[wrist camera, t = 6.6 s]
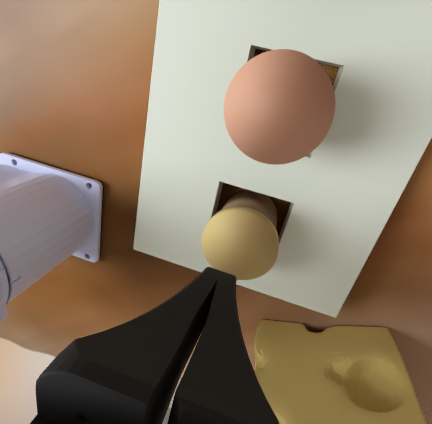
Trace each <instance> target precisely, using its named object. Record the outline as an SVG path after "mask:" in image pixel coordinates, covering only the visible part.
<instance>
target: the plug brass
mask: <svg viewBox="0 0 432 424" xmlns="http://www.w3.org/2000/svg"><path fill="white" fill-rule="evenodd" d="M277 219H278V213H277V208H276V206H275V204H274V202H273V201H272V200H271V199H270V198H269V197H268V196H267V195H264V194H261V193H258V192H254V191H251V190H247V189H246V190H241V191H238V192H236V193H234V194H233V195H232V196H230V197H229V199H228V200H227V201H226V203H225V205H224V206H223V208H222V210H220V211H219V212H217V213H216V214H215V215H214V216H213V217H212V218H211V219H210V220H209V222H208V223H207V225H206V227H205V228H204V230H203V233H202V237H201V247H202V251H203V254H204V256H205V258H206V260H207V262H208V263H209V264H210V265H211V266H212V267H213V268H214V269H217V270H220V271H223V272H226V273H229V274H232V275H235V276H236V278H237V280H251V279H255V278H258V277H260V276H262V275H264V274H266V273H267V272H268V271H269V270H270V269H271V268H272V267H273V265H274V264H275V262H276V259H277V256H278V248H279V238H278V234H277V231H276V226H277Z"/></svg>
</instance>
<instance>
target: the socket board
mask: <svg viewBox="0 0 432 424" xmlns="http://www.w3.org/2000/svg"><path fill="white" fill-rule="evenodd" d="M255 49H260V50H264V51H271V50H277V49H290V50H295V51H299V52H302V53H304V54H306V55H308V56H310V57H312V58H313V59H314V60H316V61H317V62H318V63H321V64H326V65H330V66H335V67H339V70H338V73H337V75H336V78H335V81H334V84H333V88H334V93H335V113H334V118H333V122H332V125H331V127H330V129H329V132H328V133H327V135H326V137H325V138H324V140H323V141H322V142H321V143H320V145H319V146H318V147H317V148H316V149H315V150H313V151H312V152H311V153H310V154H308V155H307V156H305V157H303V158H301V159H299V160H297V161H294V162H291V163H287V164H279V165H273V164H266V163H261V162H258V161H256V160H254V159H252V158H250V157H248V156H247V155H245V154H244V153H243V152H242V151H240V150H239V149H238V147H237V146H236V145H235V144H234V142H233V141H232V139H231V137H230V135H229V133H228V131H227V128H226V125H225V120H224V101H225V96H226V93H227V89H228V87H229V85H230V83H231V81H232V79H233V77H234V76H235V74H236V73H237V72H238V70H239V69H240V68H241V67H242V66H243V65H244V64H245V63H247V62H248V61H249V60H250V59H252V58H254V54H255ZM431 138H432V0H160V1H159V11H158V20H157V30H156V39H155V49H154V58H153V67H152V77H151V86H150V96H149V105H148V115H147V124H146V133H145V143H144V152H143V162H142V171H141V180H140V190H139V199H138V209H137V218H136V228H135V237H134V246H133V249H134V250H137V251H140V252H143V253H145V254H148V255H151V256H154V257H157V258H160V259H163V260H166V261H169V262H172V263H175V264H178V265H181V266H184V267H187V268H190V269H193V270H196V271H199V272H202V271H203V270H204V269H205V268H206V267H211V268H213V267H212V266H211V265H210V264H209V263H208V262H207V260H206V258H205V256H204V254H203V251H202V247H201V237H202V233H203V230H204V228H205V227H206V225H207V223H208V222H209V220H210V219H211V218H212V217H213V216H214V215H215V214H216V213H217V208H218V204H219V200H220V196H221V192H222V188H223V183H227V184H230V185H234V186H237V187H240V188H244V189H247V190H251V191H254V192H258V193H261V194H264V195H268V196H271V197H275V198H278V199H281V200H285V201H288V202H291V204H290V207H289V210H288V213H287V215H286V218H285V221H284V224H283V227H282V229H281V232H280V235H279V248H278V256H277V259H276V262H275V264H274V265H273V267H272V268H271V269H270V270H269V271H268V272H267V273H266V274H264V275H262V276H260V277H258V278H255V279H251V280H236V284H237V285H240V286H243V287H246V288H249V289H252V290H255V291H258V292H261V293H264V294H267V295H269V296H272V297H275V298H278V299H281V300H284V301H287V302H290V303H293V304H296V305H299V306H302V307H305V308H308V309H311V310H314V311H317V312H320V313H323V314H326V315H329V316H332V317H334V318H336V316H337V315H338V313H339V311H340V309H341V307H342V305H343V303H344V301H345V300H346V298H347V296H348V294H349V292H350V290H351V288H352V286H353V284H354V283H355V281H356V279H357V277H358V275H359V273H360V271H361V269H362V268H363V266H364V264H365V262H366V260H367V258H368V256H369V254H370V253H371V251H372V249H373V247H374V245H375V243H376V241H377V239H378V237H379V236H380V234H381V232H382V230H383V228H384V226H385V224H386V222H387V221H388V219H389V217H390V215H391V213H392V211H393V209H394V207H395V206H396V204H397V202H398V200H399V198H400V196H401V194H402V192H403V190H404V189H405V187H406V185H407V183H408V181H409V179H410V177H411V175H412V174H413V172H414V170H415V168H416V166H417V164H418V162H419V160H420V158H421V157H422V155H423V153H424V151H425V149H426V147H427V145H428V143H429V142H430V140H431Z"/></svg>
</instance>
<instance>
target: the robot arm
mask: <svg viewBox="0 0 432 424" xmlns="http://www.w3.org/2000/svg"><path fill="white" fill-rule="evenodd" d="M16 161H17V163H16ZM89 183H90V184H91V185H92V187H91V186H90V185H89ZM102 190H103V187H102V184H101V183H100V182H99V181H97V180H94V179H91V178H88V177H84V176H81V175H78V174H75V173H72V172H68V171H65V170H62V169H59V168H55V167H52V166H49V165H46V164H43V163H39V162H36V161H33V160H30V159H26V158H23V157H20V156H17V155H14V154H10V153H7V152H5V153H1V154H0V322H1V321H2V320H4V319H5V318H6V317H7V316H8V312H7V309H6V304H7V303H9V302H10V301H11V300H13V299H14V298H15V297H17V296H18V295H19V294H21V293H22V292H23V291H25V290H26V289H27V288H28V287H30V286H31V285H32V284H34V283H35V282H36V281H38V280H39V279H40V278H42V277H43V276H44V275H46V274H47V273H48V272H50V271H51V270H52V269H54V268H55V267H56V266H57V265H59V264H60V263H61V262H63V261H64V260H65V259H67V258H68V257H69V256H71V255H73V256H76V257H79V258H82V259H84V260H87V261H90V262H97V261H98V260H99V255H100V233H101V212H102ZM88 255H89V256H88ZM236 280H237V278H236V276H235V275H232V274H229V273H226V272H223V271H220V270H217V269H214V268H211V267H206V268H205V269H204V270H203V271H202V272H201V273H200V274H199V275H198V276H197V277H196V278H195V279H194V280H193V281H192V282H191V283H189V284H188V285H187V286H186V287H185V288H183V289H182V290H181V291H180V292H178V293H177V294H175V295H174V296H173V297H171V298H170V299H168V300H167V301H165V302H164V303H162V304H161V305H159V306H157V307H156V308H154V309H152V310H151V311H149V312H147V313H145V314H143V315H141V316H139V317H137V318H135V319H133V320H131V321H128V322H126V323H124V324H121V325H119V326H116V327H113V328H111V329H108V330H106V331H103V332H100V333H96V334H93V335H89V336H86V337H83V338H79V339H75V340H74V341H73V342H72V343H71V344H70V345H68V346H67V347H66V348H65V349H64V350H63V351H62V352H61V353H60V354H59V355H58V356H57V357H56V358H55V359H54V360H53V361H52V362H51V364H50V365H49V366H48V367H47V368H46V369H45V370H44V371H43V373H42V374H41V375H40V376H39V378H38V379H37V381H36V400H37V412H38V414H37V416H36V417H35V418H34V420H33V421H32V422H31V423H30V424H162V422H163V420H164V417H165V415H166V412H167V409H168V407H169V404H170V401H171V399H172V396H173V393H174V391H175V388H176V386H177V383H178V380H179V378H180V376H181V374H182V371H183V369H184V367H185V365H186V363H187V361H188V359H189V357H190V355H191V353H192V351H193V349H194V347H195V345H196V343H197V341H198V339H199V341H198V343H197V345H196V348H195V350H194V352H193V355H192V357H191V359H190V361H189V364H188V366H187V368H186V370H185V373H184V375H183V377H182V379H181V381H180V384H179V386H178V388H177V390H176V392H175V396H174V400H173V404H172V408H171V412H170V416H169V420H168V424H279V421H278V419H277V417H276V415H275V413H274V412H273V410H272V408H271V406H270V404H269V402H268V400H267V398H266V397H265V394H264V392H263V390H262V388H261V386H260V384H259V382H258V379H257V377H256V374H255V372H254V369H253V367H252V364H251V362H250V359H249V356H248V353H247V350H246V347H245V343H244V340H243V336H242V332H241V328H240V323H239V318H238V311H237V303H236ZM203 328H204V329H203ZM202 330H203V331H202ZM201 332H202V333H201ZM200 334H201V336H200ZM199 336H200V338H199Z"/></svg>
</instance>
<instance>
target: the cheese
mask: <svg viewBox="0 0 432 424" xmlns="http://www.w3.org/2000/svg"><path fill="white" fill-rule="evenodd" d="M254 350H255V365H256V367H255V374H256V377H257V379H258V382H259V384H260V386H261V388H262V390H263V392H264V394H265V397H266V398H267V400H268V402H269V404H270V406H271V408H272V410H273V412H274V413H275V415H276V417H277V419H278V421H279V424H427V421H426V419H425V416H424V414H423V411H422V409H421V406H420V404H419V402H418V399H417V396H416V393H415V390H414V387H413V384H412V381H411V379H410V376H409V373H408V371H407V368H406V365H405V363H404V361H403V358H402V356H401V353H400V351H399V349H398V347H397V345H396V343H395V341H394V339H393V337H392V335H391V333H390V331H389V329H388V328H385V327H367V326H333V327H329V328H326V329H325V330H324V331H323V332H319V333H313V332H310V331H308V330H307V329H306V327H305V325H304V324H301V323H292V322H282V321H273V320H261V321H260V323H259V325H258V327H257V330H256V333H255V340H254Z"/></svg>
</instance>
